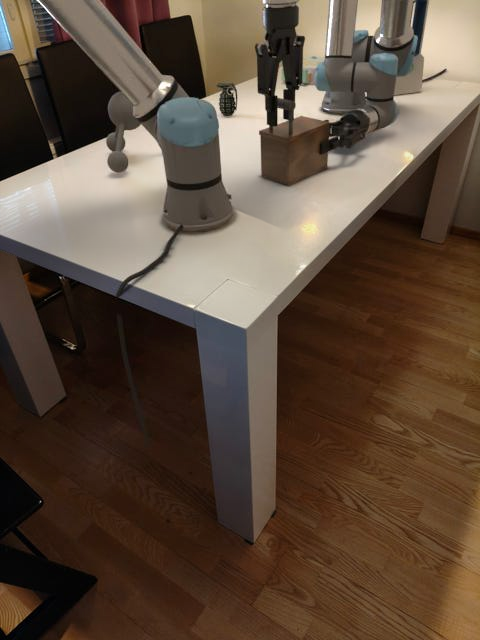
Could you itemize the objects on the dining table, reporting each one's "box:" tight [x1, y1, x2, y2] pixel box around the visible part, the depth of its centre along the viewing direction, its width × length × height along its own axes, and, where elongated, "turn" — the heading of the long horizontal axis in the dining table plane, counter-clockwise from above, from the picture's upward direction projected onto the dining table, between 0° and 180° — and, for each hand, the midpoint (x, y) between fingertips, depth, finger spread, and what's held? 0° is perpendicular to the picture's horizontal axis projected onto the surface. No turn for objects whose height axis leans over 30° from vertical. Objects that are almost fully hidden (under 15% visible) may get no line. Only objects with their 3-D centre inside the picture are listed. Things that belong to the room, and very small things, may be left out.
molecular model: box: [105, 90, 142, 174], centre depth 130 cm, size 24×22×30 cm
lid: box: [258, 97, 331, 143], centre depth 116 cm, size 16×9×8 cm, turn 134°
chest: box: [259, 126, 330, 186], centre depth 122 cm, size 15×9×10 cm, turn 134°
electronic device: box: [394, 0, 430, 96], centre depth 174 cm, size 12×8×30 cm, turn 105°
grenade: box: [215, 82, 238, 117], centre depth 166 cm, size 7×6×10 cm
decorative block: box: [281, 55, 325, 85], centre depth 206 cm, size 26×6×20 cm
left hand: (280, 122), depth 114 cm, fingers open, 5 cm apart
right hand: (305, 144), depth 124 cm, fingers closed on chest, 9 cm apart
